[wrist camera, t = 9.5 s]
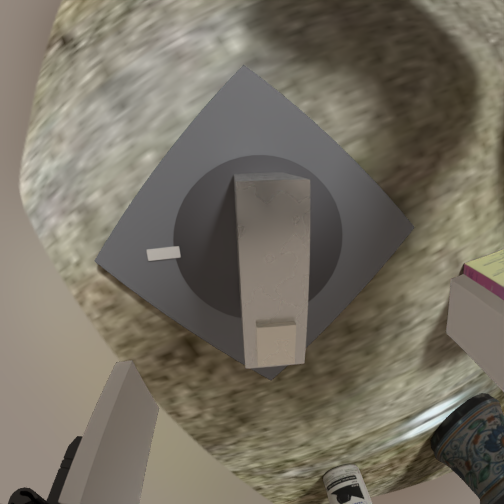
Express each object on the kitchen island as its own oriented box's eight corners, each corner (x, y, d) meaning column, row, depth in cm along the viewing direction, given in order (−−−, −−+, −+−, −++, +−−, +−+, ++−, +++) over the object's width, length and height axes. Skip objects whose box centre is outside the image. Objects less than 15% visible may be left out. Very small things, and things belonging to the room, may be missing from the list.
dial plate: (242, 69, 23) (243, 64, 22) (407, 223, 29) (415, 227, 27) (100, 256, 27) (93, 261, 26) (269, 372, 33) (271, 381, 31)
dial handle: (233, 173, 24) (235, 182, 15) (282, 172, 25) (312, 180, 16) (240, 307, 28) (245, 373, 19) (283, 304, 28) (306, 367, 19)
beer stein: (417, 440, 41) (471, 538, 17) (494, 367, 38) (571, 449, 14) (441, 455, 45) (486, 531, 22) (505, 395, 42) (563, 462, 18)
